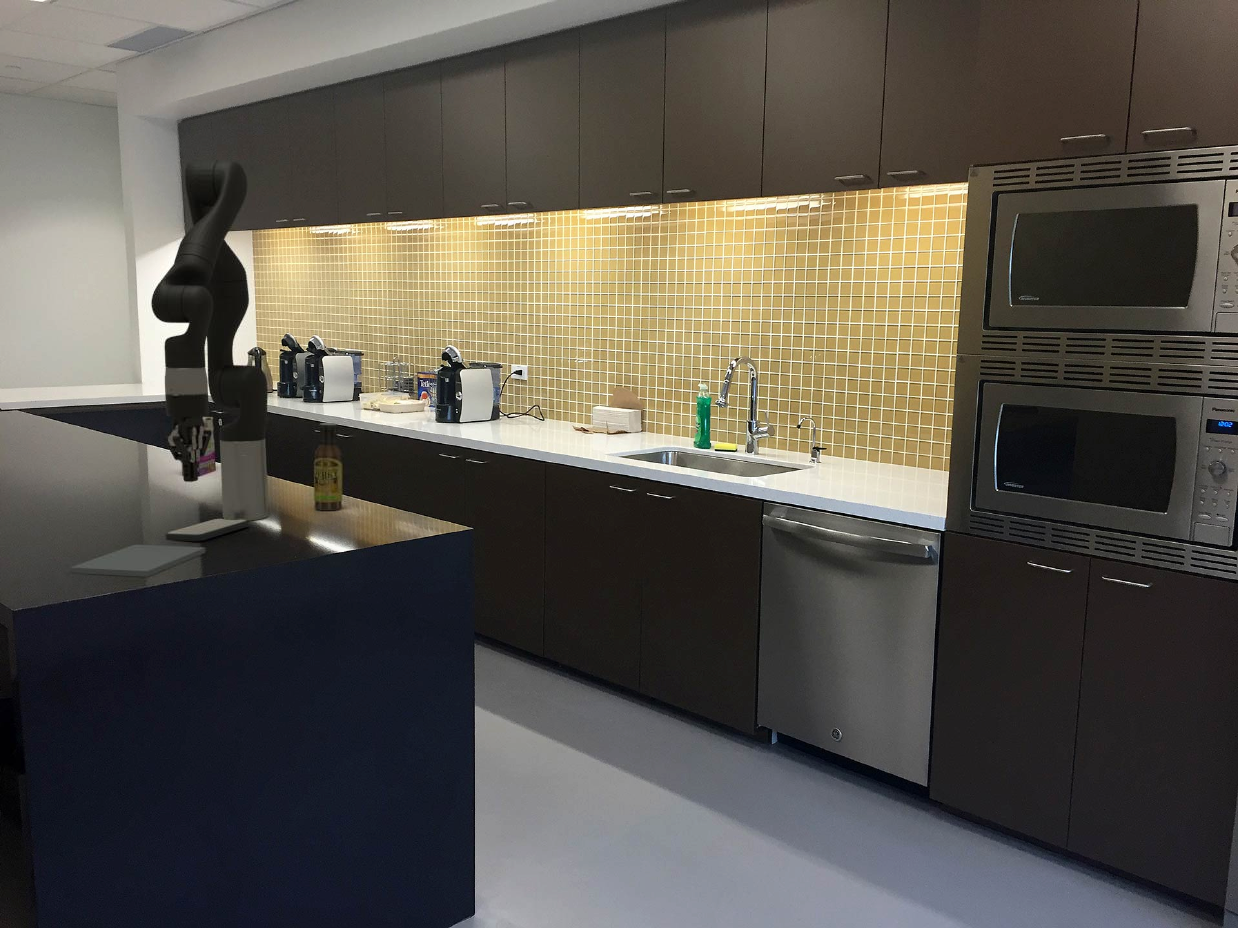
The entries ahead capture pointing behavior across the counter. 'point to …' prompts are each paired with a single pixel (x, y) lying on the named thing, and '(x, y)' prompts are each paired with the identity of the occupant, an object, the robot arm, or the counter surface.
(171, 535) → the smartphone
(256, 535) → the counter surface
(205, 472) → the candy bar box
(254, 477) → the robot arm
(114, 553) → the mat
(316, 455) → the sauce bottle
